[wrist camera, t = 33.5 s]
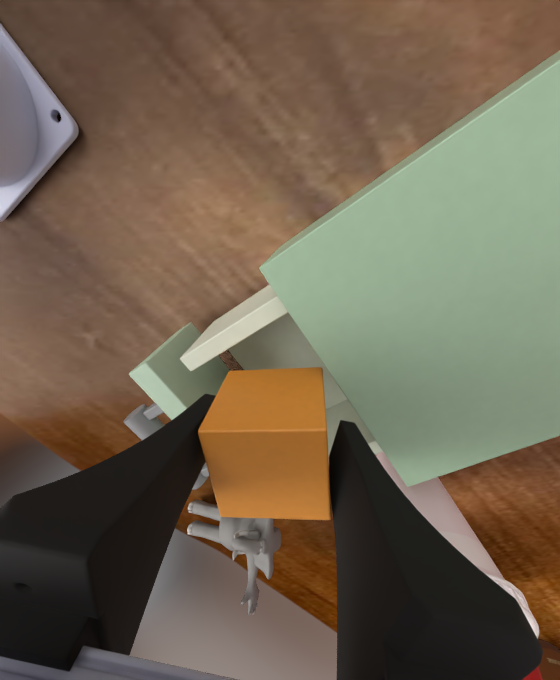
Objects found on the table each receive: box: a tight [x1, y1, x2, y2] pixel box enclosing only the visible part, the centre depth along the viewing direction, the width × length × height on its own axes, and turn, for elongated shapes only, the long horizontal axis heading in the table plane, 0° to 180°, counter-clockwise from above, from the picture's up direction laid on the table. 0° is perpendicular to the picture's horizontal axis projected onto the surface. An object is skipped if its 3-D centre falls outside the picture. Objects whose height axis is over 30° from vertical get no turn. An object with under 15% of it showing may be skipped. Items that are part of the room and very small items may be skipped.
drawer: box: [124, 284, 383, 490], centre depth 16 cm, size 17×10×5 cm, turn 124°
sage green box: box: [259, 51, 560, 487], centre depth 12 cm, size 14×12×7 cm
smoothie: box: [376, 452, 539, 639], centre depth 15 cm, size 6×6×14 cm
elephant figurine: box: [187, 500, 281, 615], centre depth 22 cm, size 10×6×9 cm
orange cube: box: [198, 367, 331, 520], centre depth 12 cm, size 4×4×4 cm
